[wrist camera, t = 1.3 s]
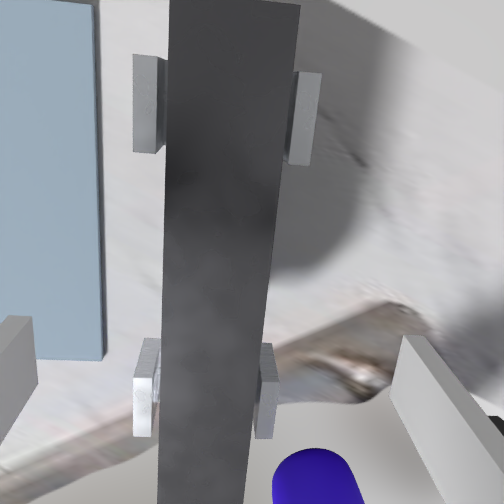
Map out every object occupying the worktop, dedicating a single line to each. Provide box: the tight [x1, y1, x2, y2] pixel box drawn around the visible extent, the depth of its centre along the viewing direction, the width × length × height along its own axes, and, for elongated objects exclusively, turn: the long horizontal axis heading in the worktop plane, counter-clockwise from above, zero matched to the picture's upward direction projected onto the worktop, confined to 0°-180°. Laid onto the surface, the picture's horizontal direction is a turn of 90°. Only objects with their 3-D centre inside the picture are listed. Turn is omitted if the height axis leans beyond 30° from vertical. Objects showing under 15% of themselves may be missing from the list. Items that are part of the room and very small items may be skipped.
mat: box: [0, 0, 103, 361], centre depth 32 cm, size 13×26×1 cm, turn 175°
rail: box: [157, 0, 301, 504], centre depth 22 cm, size 24×4×6 cm, turn 175°
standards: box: [133, 54, 322, 439], centre depth 28 cm, size 8×21×12 cm, turn 175°
